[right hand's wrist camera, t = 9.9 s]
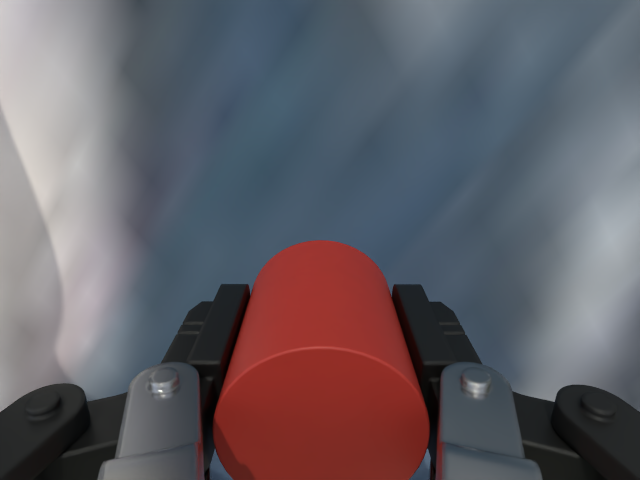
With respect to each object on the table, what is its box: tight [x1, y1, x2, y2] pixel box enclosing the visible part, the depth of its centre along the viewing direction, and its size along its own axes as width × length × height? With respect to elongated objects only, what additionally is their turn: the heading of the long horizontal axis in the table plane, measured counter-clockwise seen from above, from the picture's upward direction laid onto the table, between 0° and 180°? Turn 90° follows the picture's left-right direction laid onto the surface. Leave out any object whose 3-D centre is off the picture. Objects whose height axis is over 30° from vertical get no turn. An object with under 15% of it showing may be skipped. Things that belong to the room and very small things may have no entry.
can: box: [212, 240, 430, 480], centre depth 10 cm, size 4×4×5 cm
